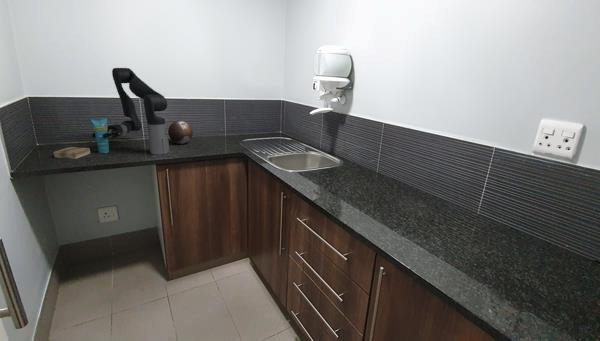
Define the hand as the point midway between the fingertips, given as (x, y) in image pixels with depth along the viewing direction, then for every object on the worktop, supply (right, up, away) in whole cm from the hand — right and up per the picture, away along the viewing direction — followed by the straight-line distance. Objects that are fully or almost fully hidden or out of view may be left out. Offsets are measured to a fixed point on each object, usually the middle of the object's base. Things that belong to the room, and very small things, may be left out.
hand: (98, 135), depth 159 cm
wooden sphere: (+32, -1, +34) cm, 47 cm away
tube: (0, -9, +6) cm, 11 cm away
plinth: (-12, -11, -3) cm, 16 cm away
